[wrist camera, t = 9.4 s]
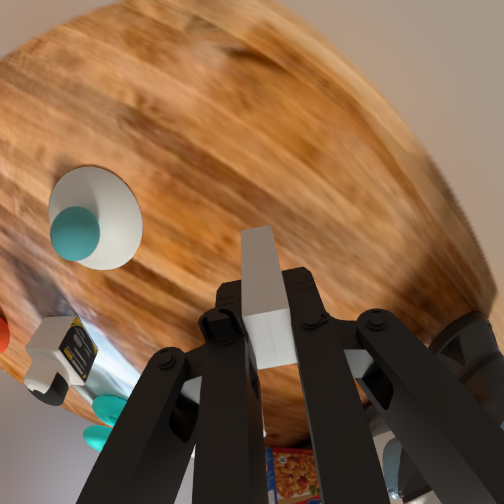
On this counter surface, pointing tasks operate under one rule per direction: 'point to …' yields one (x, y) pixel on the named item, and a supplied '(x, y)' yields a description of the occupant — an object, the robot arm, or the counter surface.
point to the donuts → (108, 413)
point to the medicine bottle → (59, 358)
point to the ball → (75, 233)
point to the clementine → (4, 335)
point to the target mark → (102, 213)
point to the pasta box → (291, 476)
